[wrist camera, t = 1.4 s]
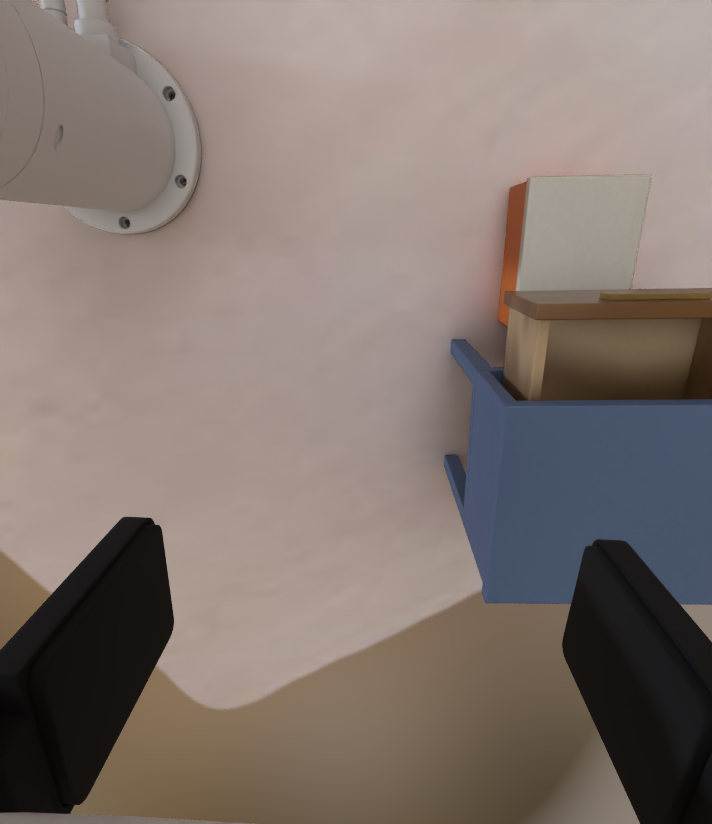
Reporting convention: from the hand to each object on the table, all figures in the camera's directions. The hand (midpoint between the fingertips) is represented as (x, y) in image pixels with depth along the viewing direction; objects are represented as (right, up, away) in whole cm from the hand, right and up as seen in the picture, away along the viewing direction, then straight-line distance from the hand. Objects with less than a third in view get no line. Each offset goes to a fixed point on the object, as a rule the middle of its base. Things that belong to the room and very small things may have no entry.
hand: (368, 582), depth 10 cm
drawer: (+15, +7, +19) cm, 25 cm away
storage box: (+15, +16, +26) cm, 34 cm away
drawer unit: (+15, +4, +31) cm, 34 cm away
